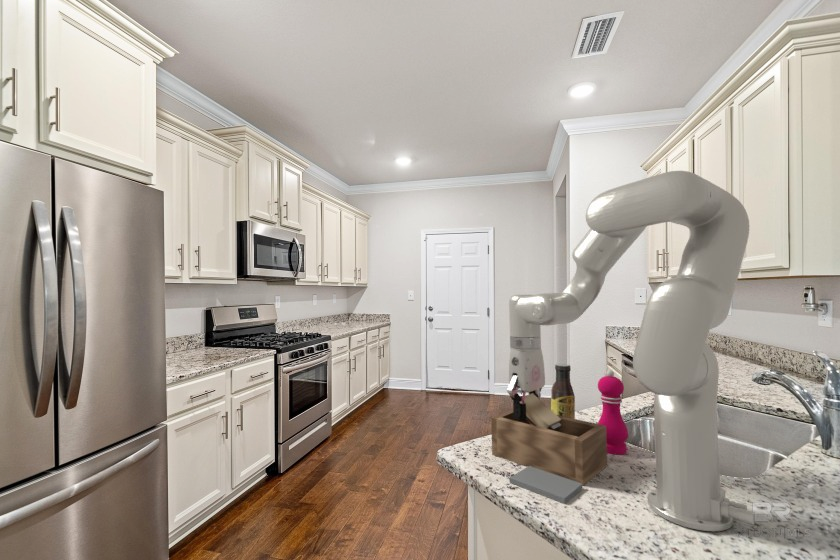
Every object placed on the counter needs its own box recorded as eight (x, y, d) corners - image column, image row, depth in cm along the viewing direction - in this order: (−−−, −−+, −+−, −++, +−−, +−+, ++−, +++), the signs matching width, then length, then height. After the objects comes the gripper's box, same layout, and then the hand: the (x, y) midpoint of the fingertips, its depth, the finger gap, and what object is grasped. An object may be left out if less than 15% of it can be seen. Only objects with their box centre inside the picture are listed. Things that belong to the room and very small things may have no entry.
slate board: (582, 488, 78) (582, 483, 78) (564, 503, 73) (564, 498, 73) (529, 470, 87) (529, 465, 87) (509, 482, 81) (509, 477, 82)
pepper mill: (633, 456, 94) (630, 373, 95) (601, 454, 95) (598, 372, 96) (623, 445, 101) (620, 368, 102) (594, 443, 102) (591, 367, 103)
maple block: (556, 426, 94) (561, 419, 93) (543, 433, 90) (549, 425, 89) (528, 400, 100) (532, 393, 99) (515, 405, 96) (520, 397, 95)
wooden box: (607, 465, 89) (606, 425, 89) (583, 485, 80) (581, 441, 80) (520, 440, 105) (519, 406, 106) (492, 454, 96) (491, 417, 96)
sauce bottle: (560, 442, 103) (558, 367, 104) (546, 434, 109) (544, 363, 110) (580, 439, 105) (578, 365, 106) (566, 432, 111) (564, 362, 112)
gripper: (520, 348, 89) (521, 428, 88) (555, 341, 101) (557, 411, 100) (492, 345, 94) (494, 420, 93) (529, 339, 106) (531, 406, 105)
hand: (527, 415), depth 97 cm, fingers closed on maple block, 6 cm apart
